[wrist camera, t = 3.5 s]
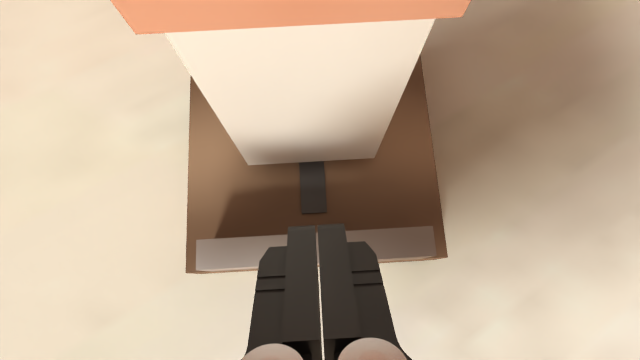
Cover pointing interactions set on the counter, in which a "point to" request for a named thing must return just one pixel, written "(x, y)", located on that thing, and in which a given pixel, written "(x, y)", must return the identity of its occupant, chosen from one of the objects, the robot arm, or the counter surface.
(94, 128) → the counter surface
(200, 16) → the fader knob
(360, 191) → the fader console
